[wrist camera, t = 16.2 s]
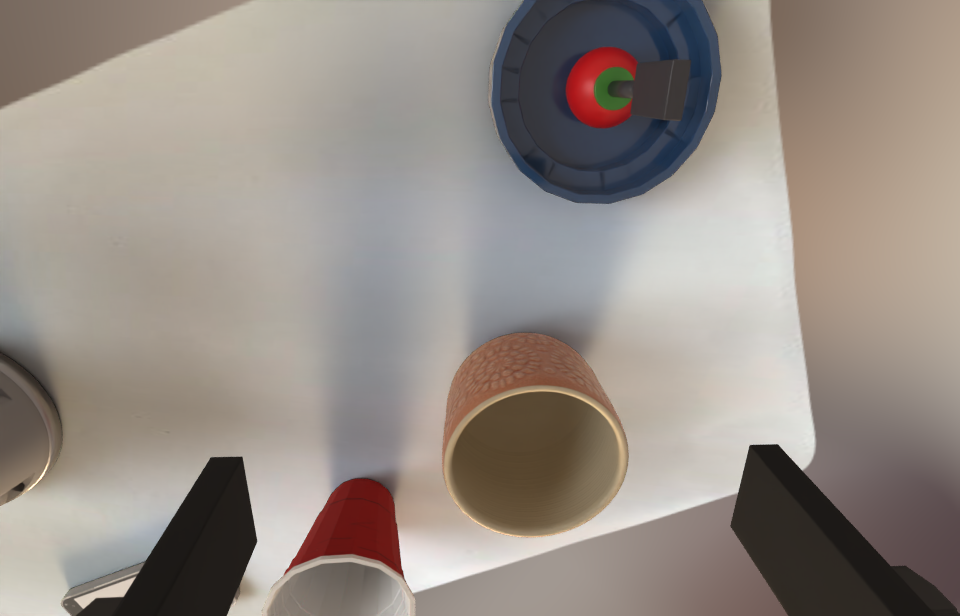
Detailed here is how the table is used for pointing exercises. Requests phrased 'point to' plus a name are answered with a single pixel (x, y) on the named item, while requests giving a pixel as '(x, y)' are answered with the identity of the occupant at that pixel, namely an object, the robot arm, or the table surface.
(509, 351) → the planter
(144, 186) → the table surface
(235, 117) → the table surface
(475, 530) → the table surface
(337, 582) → the plastic cup
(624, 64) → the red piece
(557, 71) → the dish
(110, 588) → the smartphone
